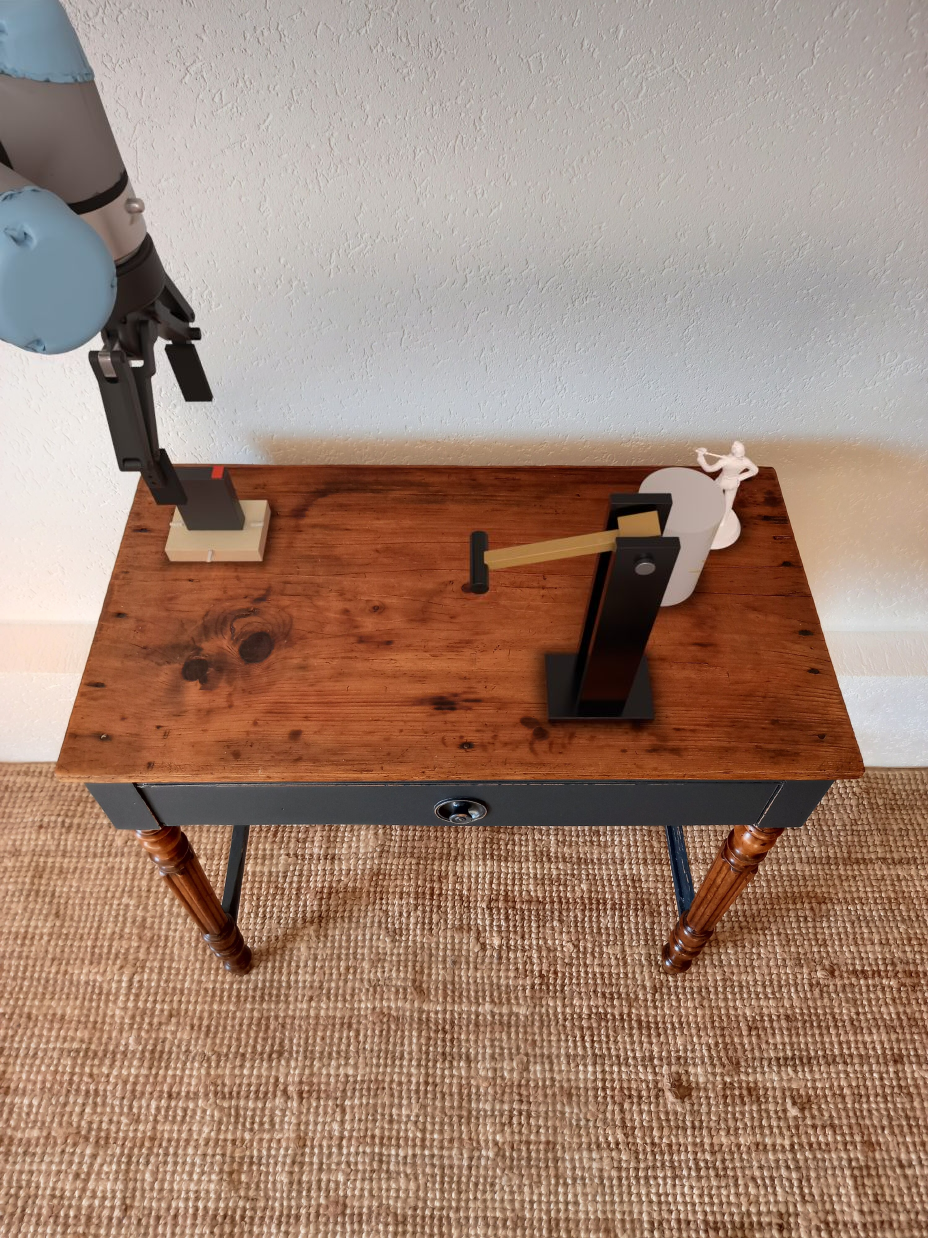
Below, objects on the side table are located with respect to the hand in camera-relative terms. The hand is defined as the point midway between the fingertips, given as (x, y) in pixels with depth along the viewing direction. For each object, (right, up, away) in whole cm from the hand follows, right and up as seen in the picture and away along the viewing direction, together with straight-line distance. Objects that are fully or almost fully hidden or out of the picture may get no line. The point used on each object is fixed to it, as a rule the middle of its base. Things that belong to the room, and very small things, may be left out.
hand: (186, 448), depth 78 cm
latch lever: (+34, -12, -18) cm, 40 cm away
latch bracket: (+40, -24, 0) cm, 46 cm away
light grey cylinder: (+48, -12, +8) cm, 50 cm away
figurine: (+54, -6, +12) cm, 56 cm away
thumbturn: (0, -6, +9) cm, 11 cm away
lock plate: (0, -7, +11) cm, 13 cm away
